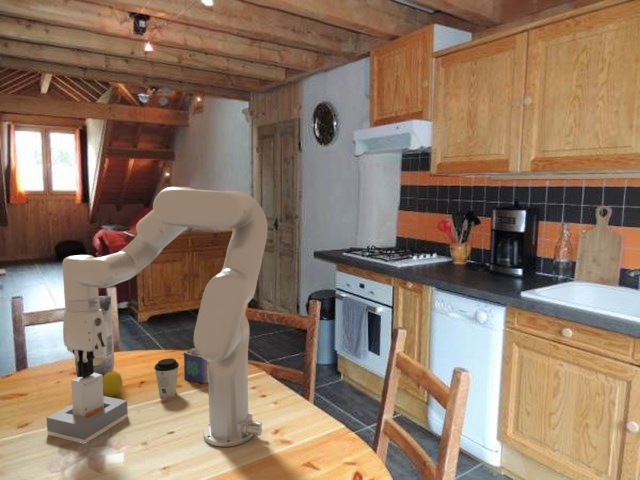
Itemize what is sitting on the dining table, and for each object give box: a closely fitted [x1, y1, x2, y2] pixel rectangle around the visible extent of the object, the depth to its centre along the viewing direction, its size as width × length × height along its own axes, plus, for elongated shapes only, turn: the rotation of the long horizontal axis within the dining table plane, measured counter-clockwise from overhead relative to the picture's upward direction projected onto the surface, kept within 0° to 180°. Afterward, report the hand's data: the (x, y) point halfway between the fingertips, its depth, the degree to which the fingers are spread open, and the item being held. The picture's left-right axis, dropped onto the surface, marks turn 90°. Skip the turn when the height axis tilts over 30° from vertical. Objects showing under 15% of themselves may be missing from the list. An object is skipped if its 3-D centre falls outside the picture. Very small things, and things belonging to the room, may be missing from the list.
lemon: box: [103, 369, 123, 398], centre depth 134 cm, size 6×6×8 cm
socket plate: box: [45, 395, 129, 444], centre depth 117 cm, size 12×14×4 cm
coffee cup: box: [153, 357, 180, 398], centre depth 135 cm, size 7×7×10 cm
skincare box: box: [71, 373, 104, 418], centre depth 117 cm, size 6×4×12 cm
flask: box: [183, 347, 208, 385], centre depth 145 cm, size 9×3×11 cm, turn 61°
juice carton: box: [74, 295, 115, 378], centre depth 149 cm, size 9×10×27 cm
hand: (86, 375), depth 116 cm, fingers closed
